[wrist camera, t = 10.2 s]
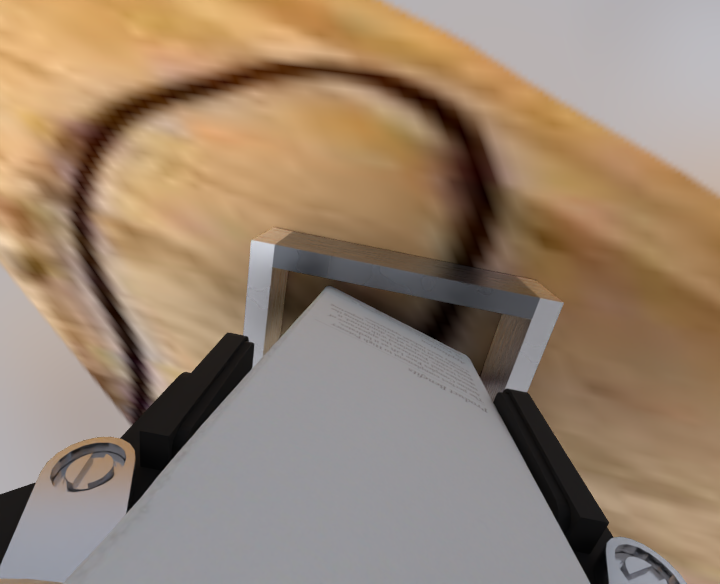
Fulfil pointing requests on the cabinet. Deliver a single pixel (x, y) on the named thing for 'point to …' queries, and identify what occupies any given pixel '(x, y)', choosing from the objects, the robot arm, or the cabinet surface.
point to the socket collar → (408, 276)
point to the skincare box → (344, 474)
